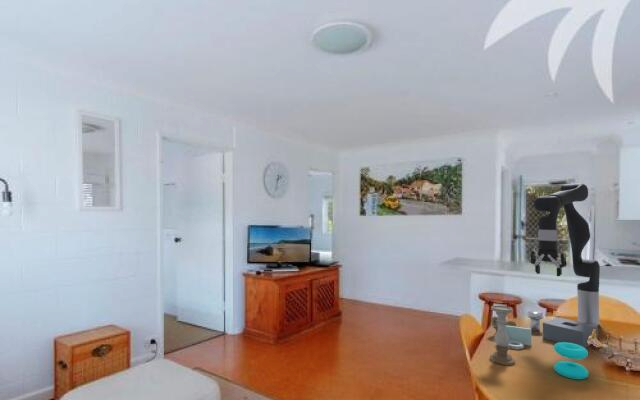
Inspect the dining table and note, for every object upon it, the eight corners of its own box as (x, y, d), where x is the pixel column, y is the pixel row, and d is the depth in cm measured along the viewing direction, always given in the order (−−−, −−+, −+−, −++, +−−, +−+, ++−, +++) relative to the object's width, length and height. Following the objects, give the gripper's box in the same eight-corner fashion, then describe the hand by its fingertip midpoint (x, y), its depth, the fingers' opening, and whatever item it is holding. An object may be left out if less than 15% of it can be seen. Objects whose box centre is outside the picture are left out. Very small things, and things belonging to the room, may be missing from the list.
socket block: (558, 332, 178) (558, 317, 178) (597, 341, 165) (597, 325, 165) (542, 338, 169) (542, 322, 169) (583, 348, 155) (582, 332, 156)
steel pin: (531, 327, 185) (531, 310, 186) (545, 330, 180) (545, 312, 180) (525, 329, 182) (525, 311, 182) (538, 332, 176) (538, 314, 177)
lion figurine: (496, 338, 168) (496, 318, 168) (488, 334, 173) (487, 315, 173) (521, 335, 172) (521, 315, 173) (512, 331, 177) (512, 313, 178)
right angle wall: (499, 350, 154) (499, 332, 155) (500, 341, 165) (500, 324, 165) (532, 355, 149) (532, 336, 149) (531, 346, 159) (531, 328, 160)
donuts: (586, 353, 124) (552, 346, 130) (587, 383, 123) (552, 375, 129) (588, 345, 131) (555, 339, 138) (589, 373, 131) (556, 366, 137)
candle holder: (512, 367, 135) (512, 312, 136) (487, 361, 141) (486, 308, 141) (516, 360, 142) (516, 307, 143) (492, 354, 148) (492, 303, 148)
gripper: (568, 240, 166) (569, 276, 165) (535, 238, 177) (535, 272, 177) (561, 240, 161) (562, 277, 161) (527, 238, 173) (528, 273, 172)
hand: (548, 274), depth 169 cm, fingers open, 8 cm apart
